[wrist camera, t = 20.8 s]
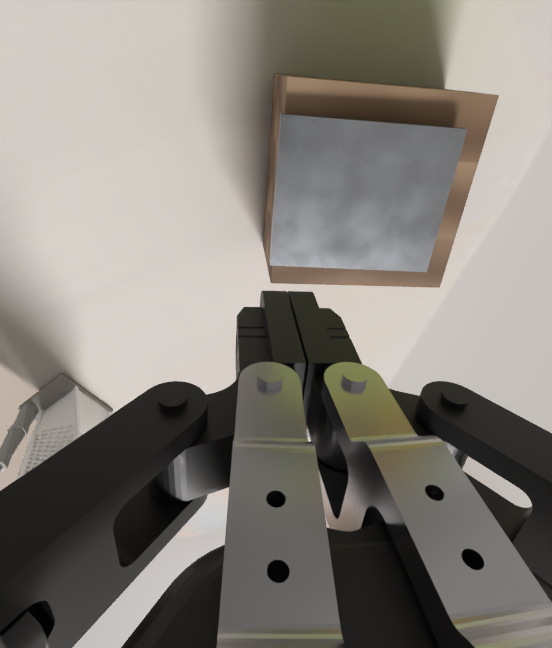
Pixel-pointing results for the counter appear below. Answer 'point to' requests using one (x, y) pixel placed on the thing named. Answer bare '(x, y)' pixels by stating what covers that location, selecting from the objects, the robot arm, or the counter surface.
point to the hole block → (391, 107)
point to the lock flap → (360, 192)
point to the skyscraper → (52, 422)
